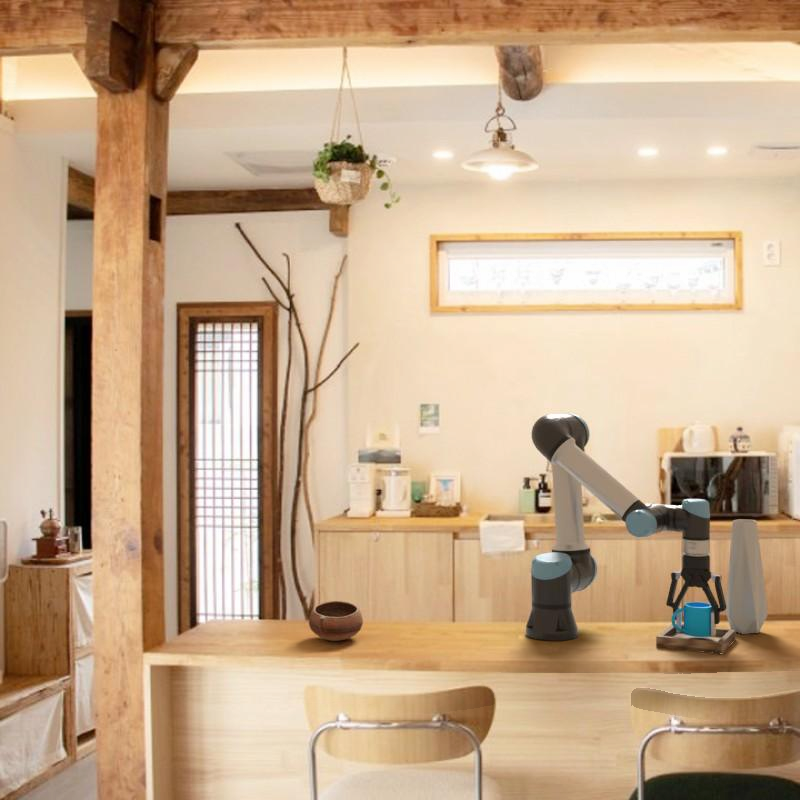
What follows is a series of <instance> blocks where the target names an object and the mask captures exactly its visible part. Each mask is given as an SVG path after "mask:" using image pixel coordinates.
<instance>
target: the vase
mask: <svg viewBox="0 0 800 800" xmlns="http://www.w3.org/2000/svg"><path fill="white" fill-rule="evenodd" d="M725 596H726V597H725V603H726V607H727V608H726V610H724V612H725V614H726V618H727V621H728V624H729V629H734V630H736V632H738V633H737V634H740V633H743V634H742V635H750V634H749V633H758V634H759V633H760V631H761V629H762V627H763V626H764V623H766V622H765V621H766V620H767V617H768V615H769V612H768V611H769V610H768V602H767V593H766V586H765V576H764V569H763V562H762V551H761V544H760V537H759V529H758V523H757V521H756V520H755V519H745V518H744V519H743V518H742V519H741V518H739V519H734V520H732V523H731V537H730V548H729V560H728V571H727V583H726V595H725Z"/></svg>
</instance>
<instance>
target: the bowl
mask: <svg viewBox="0 0 800 800" xmlns="http://www.w3.org/2000/svg"><path fill="white" fill-rule="evenodd" d="M309 614H310V615H309V618H308V619H309V620H308V625H309V628H310V630H311V631H312V633H314V634H315V636H318V637H320V638H321V639H324V640H327V641H331V642H333V641H334V642H337V641H344V640H348V639H350V638H352V637H354V636H356V635H357V634H358V633H359V632H360V631H361V629H362V627H363V624H364V621H363V620H364V619H363V616H362V615H363V614H362V612H361V610H360V608H359V607H358V606H357V605H355V604H354V603H351V602H348V601H343V600H331V601H325V602H321V603H318V604H316V605H315V606H314V607H313V608H312V610H311V612H310V613H309Z"/></svg>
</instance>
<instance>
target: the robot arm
mask: <svg viewBox="0 0 800 800" xmlns="http://www.w3.org/2000/svg"><path fill="white" fill-rule="evenodd" d="M531 440H532V443H533V445H534V447H535V448H536V449H537V451H538V452H539V453H540V454H541V455H542V456H543V457H545V458H546V460H547V461H548V462H549V463H550V464H551V473H552V488H553V489H552V491H553V508H554V521H555V522H554V523H555V524H554V526H555V527H554V528H555V543H554V545H552V547H551V552H546V553H545V552H544V553H540V554H538V555H536V556H534V557H533V559H532V560H531V568H530V573H531V574H530V575H531V578H530V579H531V581H530V582H531V583H530V584H531V587H530V588H531V589H530V591H531V610H530V613H529V615H528V619H527V622H526V625H525V635H526V636H527V637H529V638H530V639H531V638H532V639H534V640H535V639H536V640H540V641H542V640H543V641H558V642H559V641H567V640H573V639H576V638H577V637H578V634H579V630H578V624H577V622H576V619H575V616H574V613H573V610H572V609H573V607H572V594H573V593H577V592H581V591H583V590H585V589H587V588H588V587H589V586H591V585H592V583H594V581H595V579H596V578H597V573H598V565H597V561H596V559H595V558H594V557H593V555H592V554H591V547H590V545H589V544H588V543H587V542H586V540H585V527H584V526H585V525H584V524H585V523H584V507H583V491H582V490H583V489H582V486H583V487H584V488H585V489H586V490H587V491H589V492H590V493H591V494H592V495H593V496H594V497H596V498H597V499H598V500H599V501H600V502H601V503H602V504H603V505H605V507H607V508H608V509H609V510H610V511H611V512H613V513H614V514H615V515H616V516H617V517H618V518H620V519H621V521H623V523H624V524H625V527H626V530H627V532H628V534H630V535H631V536H634V537H636V538H645V537H646V538H647V537H650V536H651V535H654V534H659V533H661V532H678V533H682V534H681V535H682V536H681V537H682V541H681V542H682V545H681V546H682V548H681V549H682V550H681V551H682V553H683V554H682V558H681V559H682V564H681V567H682V569H681V570H680V571H676V570H674V571H672V572H671V573H670V578H671V583H670V586H669V591H668V596H667V598H666V599H667V600H666V603H665V605H666V606H667V607H671V608H672V615H673V614H674V612H676V611H677V610H678V609H681V608H682V607H680V604H681V602H682V601H683V599H684V597H685V595H686V594H687V591H688V590H689V588H699V589H700V588H701V589H702V591H703V592H704V594H705V596H706V598H707V600H708V603H709V604H710V605H711V607H712V609H713V612H712V613H711V636H715V635H716V628H717V625H719V624H720V620H721V617H720V616H721V614H720V613H721V612H725V610H726V608H727V607H726V598H725V595H724V591H723V585H722V575H721V574H713V573H712V572H711V556H710V553H711V548H710V547H711V544H710V543H711V541H710V539H711V537H710V534H711V532H710V531H711V529H710V528H711V519H710V518H711V514H710V513H711V512H710V502H709V501H708V500H706V499H705V498H704V499H703V498H686V499H685V498H684V499H683V500H682V502H681V505H675V504H662V503H656V502H653V503H644V502H643V501H641V500H640V498H638V497H637V496H636V495H635V494H634V493H632V492H631V491H630V490H629V489H628V488H627V487H626V486H624V485H623V484H622V483H621V482H620V481H619V480H617V479H616V478H615V477H614V476H613V475H612V474H610V473H609V472H608V471H607V470H606V469H605V468H603V466H601V465H600V464H599V463H597V462H596V461H595V460H594V459H593V458H592V457H590V456H589V455H588V454H587V453H586V452H585V447H586V446H587V444H588V443H589V440H590V429H589V426H588V424H587V422H586V420H584V419H583V418H582V417H580V416H579V415H577V414H574V413H567V412H565V413H557V414H554V413H553V414H546V415H543V416H541V417H540V418H538V419H537V420H536V421H535V423H533V426H532V429H531ZM680 578H682V579H683V581H684V583H683V584H682V588H681V589H680V591H679V593H678V594H677V596H676V599H675V600H674V598H675V595H676V589H677V587H678V586H677V585H678V581H679V579H680ZM710 580H712V583H714V588H715V591H716V596H717V600H718V601H717V600H716V598H715V596H714V593H713V592H712V590H711V587H710V585H709V583H708V582H709V581H710ZM682 612H683V611H681V612H679V613H678V614H677V615H676V617H675V621H676V624H677V626H678V627H679V628H680V629H682V624H683V623H682V614H683V613H682ZM677 632H678V633H679V632H680V631H678V630H677Z"/></svg>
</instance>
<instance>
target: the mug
mask: <svg viewBox="0 0 800 800" xmlns="http://www.w3.org/2000/svg"><path fill="white" fill-rule="evenodd" d="M680 608H681V609H678V610H677V611H676V612H674V614H673V613H672V615H671V620H670V621H671V624H672V625H673V626H674V628H675V629H677V630H678V631H681V632H684V634H686V635H689V636H694V637H709V636H711V613H712V612H713V609H712V607H711V605H710V602H703V601H688V602H685V603H683V607H680ZM681 611H682V612H683V624H684V630H683V629H680V628H679V627H678V626H677V625H676V624H677V623H676V620H675V617H676V615H677V614H678V613H679V612H681Z"/></svg>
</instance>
